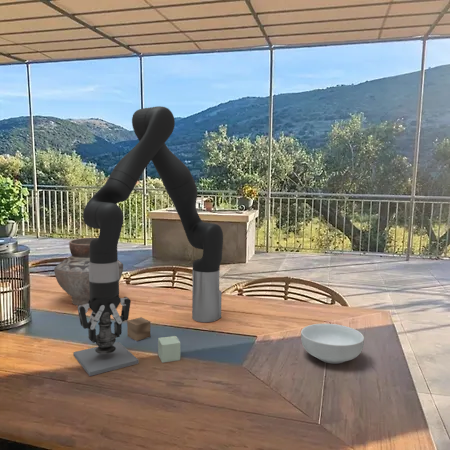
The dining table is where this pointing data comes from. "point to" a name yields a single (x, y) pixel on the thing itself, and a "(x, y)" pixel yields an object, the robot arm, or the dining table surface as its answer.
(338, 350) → the cereal bowl
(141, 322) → the walnut block
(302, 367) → the dining table surface
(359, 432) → the dining table surface
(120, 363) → the serving board
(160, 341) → the sage block
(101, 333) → the salt shaker
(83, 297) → the ceramic pot
